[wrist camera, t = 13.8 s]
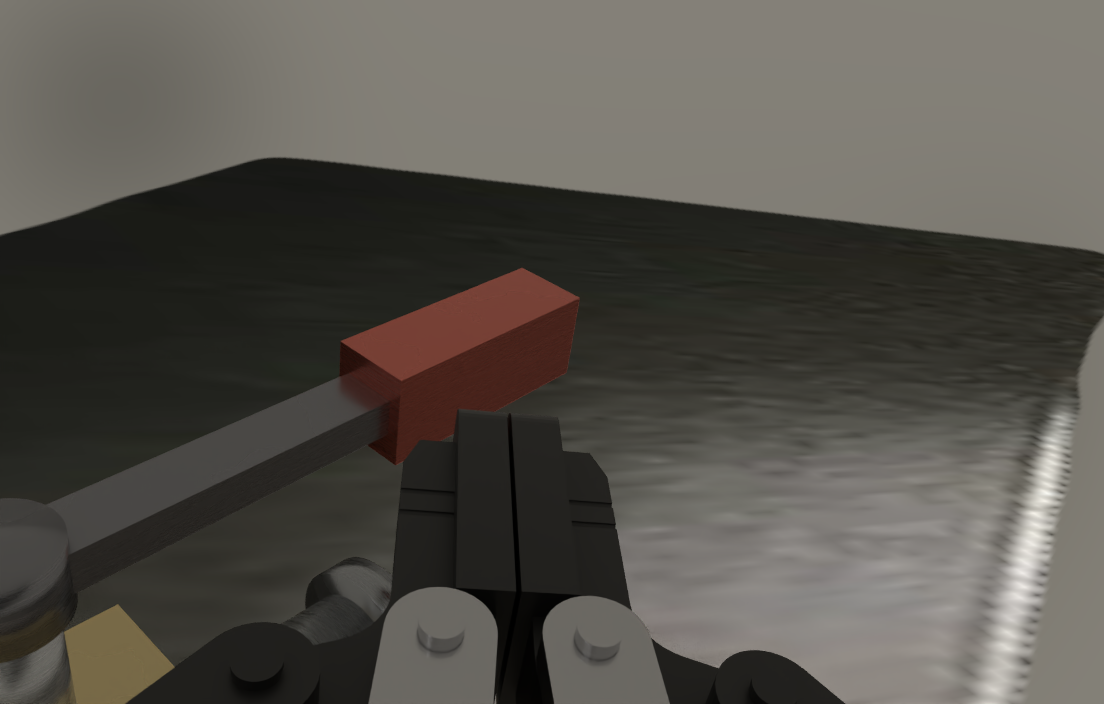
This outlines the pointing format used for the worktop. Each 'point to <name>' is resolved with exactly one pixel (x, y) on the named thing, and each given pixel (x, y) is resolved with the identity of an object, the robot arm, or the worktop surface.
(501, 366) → the lever
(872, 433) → the worktop surface
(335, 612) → the valve
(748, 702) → the robot arm
